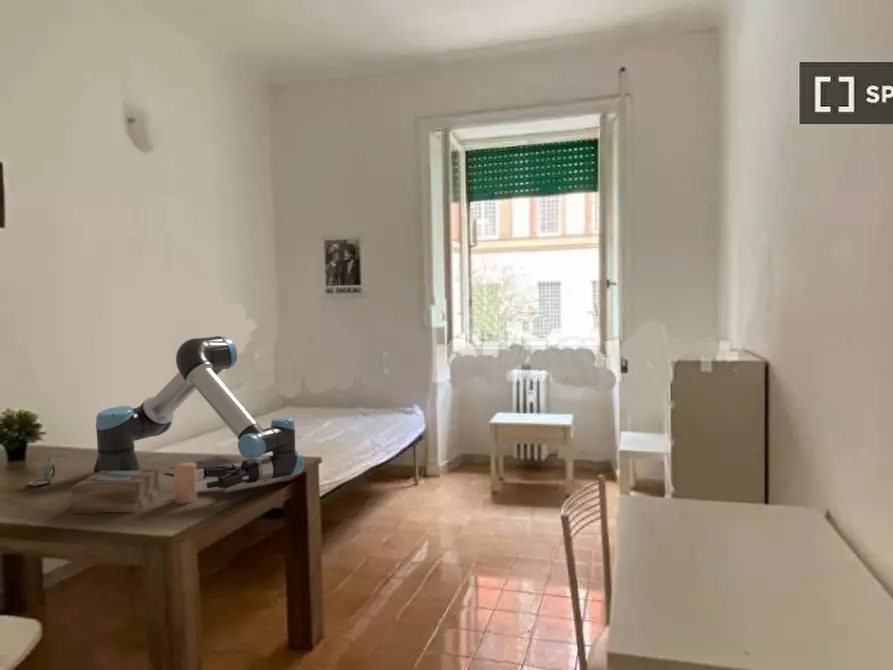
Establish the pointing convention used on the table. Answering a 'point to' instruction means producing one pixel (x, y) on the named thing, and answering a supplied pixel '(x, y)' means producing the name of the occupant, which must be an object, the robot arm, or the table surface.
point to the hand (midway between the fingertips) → (188, 482)
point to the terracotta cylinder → (185, 483)
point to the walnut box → (115, 491)
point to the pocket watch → (47, 473)
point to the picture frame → (212, 463)
